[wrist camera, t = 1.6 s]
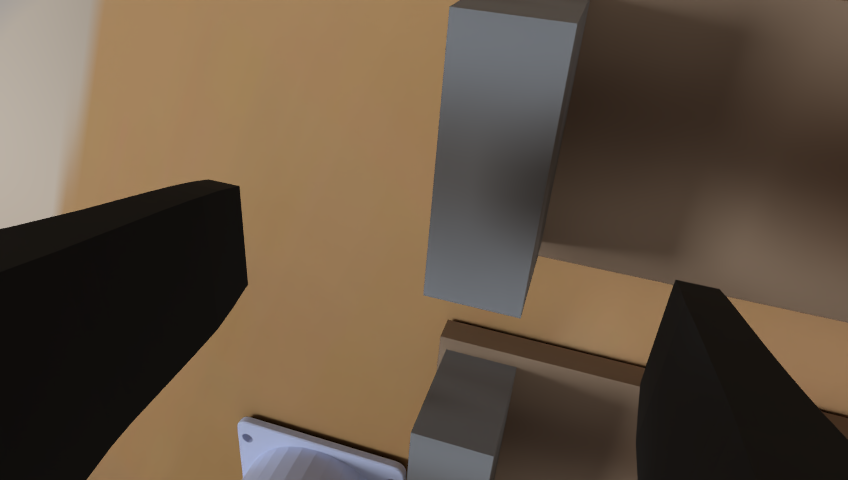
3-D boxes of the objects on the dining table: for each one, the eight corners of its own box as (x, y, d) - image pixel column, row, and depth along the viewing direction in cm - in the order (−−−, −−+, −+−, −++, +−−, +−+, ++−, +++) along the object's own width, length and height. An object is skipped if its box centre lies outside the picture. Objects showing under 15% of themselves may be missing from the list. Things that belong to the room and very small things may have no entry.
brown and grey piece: (1116, 361, 16) (1279, 521, 12) (459, 222, 20) (412, 308, 16) (1374, 56, 12) (1749, 139, 8) (491, -45, 16) (439, -22, 12)
